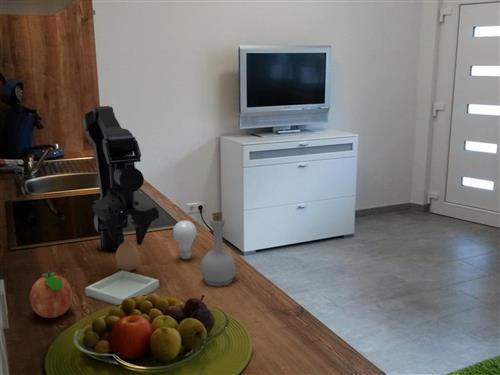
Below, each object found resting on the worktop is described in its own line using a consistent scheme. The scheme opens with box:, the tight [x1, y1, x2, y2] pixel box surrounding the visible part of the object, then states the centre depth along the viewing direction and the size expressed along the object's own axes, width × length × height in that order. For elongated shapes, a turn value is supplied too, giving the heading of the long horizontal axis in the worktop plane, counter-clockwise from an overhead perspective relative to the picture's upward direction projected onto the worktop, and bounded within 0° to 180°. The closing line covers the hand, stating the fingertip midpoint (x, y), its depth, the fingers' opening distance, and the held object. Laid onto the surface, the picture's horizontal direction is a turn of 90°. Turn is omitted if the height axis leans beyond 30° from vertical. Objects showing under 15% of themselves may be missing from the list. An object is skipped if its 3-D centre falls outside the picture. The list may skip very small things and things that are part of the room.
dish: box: [84, 270, 160, 306], centre depth 125 cm, size 12×12×2 cm
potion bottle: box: [199, 211, 237, 287], centre depth 129 cm, size 9×9×18 cm
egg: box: [115, 241, 140, 272], centre depth 136 cm, size 6×6×8 cm
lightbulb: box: [172, 220, 197, 261], centre depth 143 cm, size 6×6×11 cm
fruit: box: [29, 270, 74, 319], centre depth 113 cm, size 9×10×10 cm
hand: (126, 241), depth 135 cm, fingers open, 9 cm apart
